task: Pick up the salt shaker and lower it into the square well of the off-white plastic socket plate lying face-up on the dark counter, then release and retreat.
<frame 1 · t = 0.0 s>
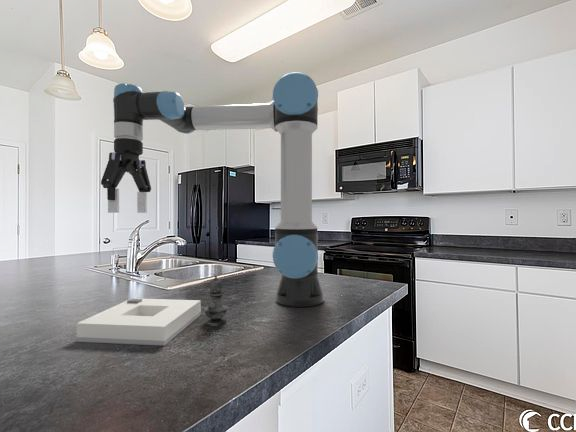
hand: (128, 212, 91), 28 cm above the countertop, fingers open, 13 cm apart
socket plate: (145, 326, 77), on the countertop
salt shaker: (215, 322, 80), on the countertop
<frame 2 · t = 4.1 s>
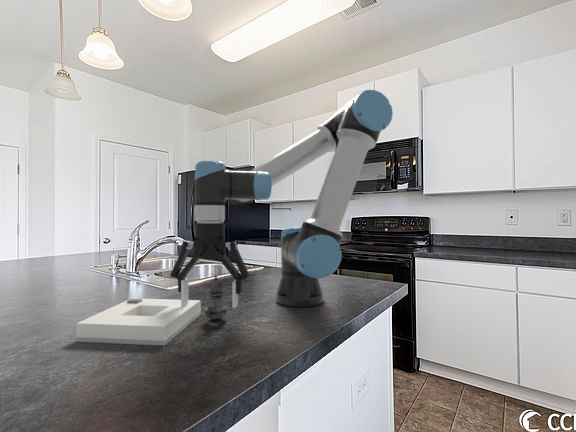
hand: (209, 305, 80), 4 cm above the countertop, fingers open, 13 cm apart
nothing on the countertop moved.
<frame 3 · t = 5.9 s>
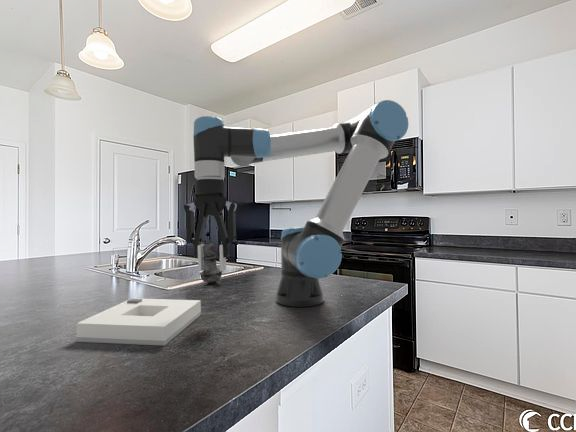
hand: (212, 270, 80), 13 cm above the countertop, fingers closed on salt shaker, 5 cm apart
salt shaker: (212, 286, 80), point 9 cm above the countertop, touching gripper
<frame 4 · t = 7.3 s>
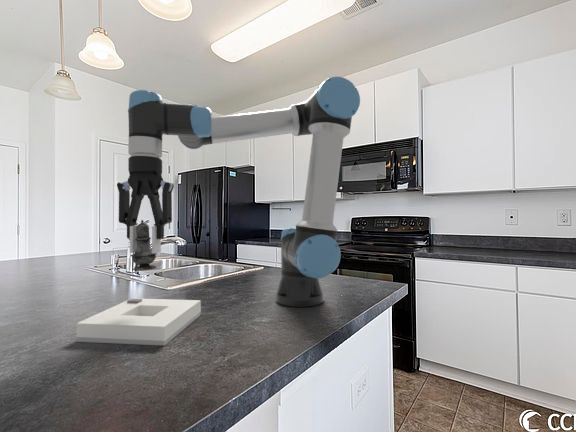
hand: (145, 252, 76), 18 cm above the countertop, fingers closed on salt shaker, 5 cm apart
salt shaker: (144, 269, 76), point 14 cm above the countertop, touching gripper
when the fingers open (5 cm above the countertop, at t = 9.2 s): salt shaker stays where it is, resting on socket plate.
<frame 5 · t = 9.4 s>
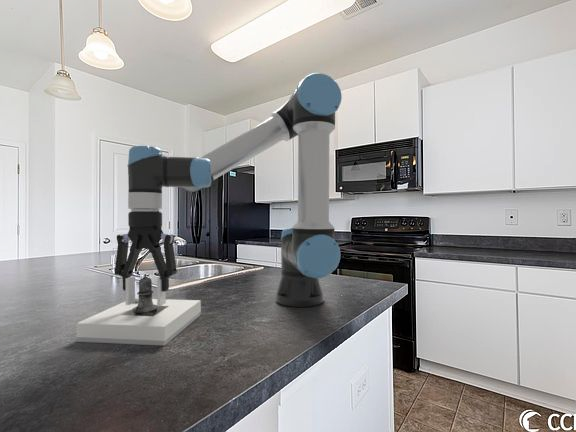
hand: (145, 303, 77), 6 cm above the countertop, fingers open, 7 cm apart
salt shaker: (145, 323, 77), point 1 cm above the countertop, touching socket plate
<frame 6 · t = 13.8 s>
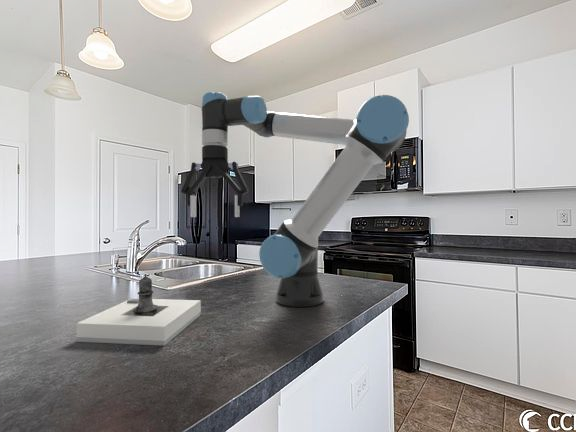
hand: (215, 217, 94), 27 cm above the countertop, fingers open, 13 cm apart
nothing on the countertop moved.
at the end: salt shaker 0.1 cm off-centre on the socket plate, point 0.8 cm above the socket plate's base; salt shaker tilted 0°; the gripper is holding nothing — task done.
